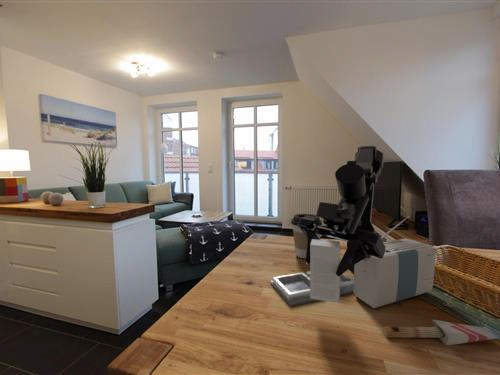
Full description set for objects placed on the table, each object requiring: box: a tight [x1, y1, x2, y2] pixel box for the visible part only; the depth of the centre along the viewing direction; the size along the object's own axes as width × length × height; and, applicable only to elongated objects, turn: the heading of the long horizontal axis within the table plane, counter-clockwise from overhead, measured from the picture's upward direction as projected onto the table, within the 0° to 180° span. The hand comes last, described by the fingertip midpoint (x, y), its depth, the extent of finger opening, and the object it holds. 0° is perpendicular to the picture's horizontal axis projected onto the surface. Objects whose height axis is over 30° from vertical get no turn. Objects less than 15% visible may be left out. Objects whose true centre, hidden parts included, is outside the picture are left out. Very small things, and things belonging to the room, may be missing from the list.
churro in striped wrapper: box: [382, 319, 499, 346], centre depth 47 cm, size 4×3×20 cm
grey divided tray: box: [269, 270, 354, 307], centre depth 66 cm, size 21×12×6 cm, turn 109°
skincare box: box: [309, 239, 341, 304], centre depth 51 cm, size 6×4×12 cm
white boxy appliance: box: [353, 215, 436, 309], centre depth 61 cm, size 21×8×20 cm, turn 112°
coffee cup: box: [290, 213, 323, 260], centre depth 89 cm, size 11×11×15 cm
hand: (321, 269), depth 51 cm, fingers closed on skincare box, 7 cm apart
